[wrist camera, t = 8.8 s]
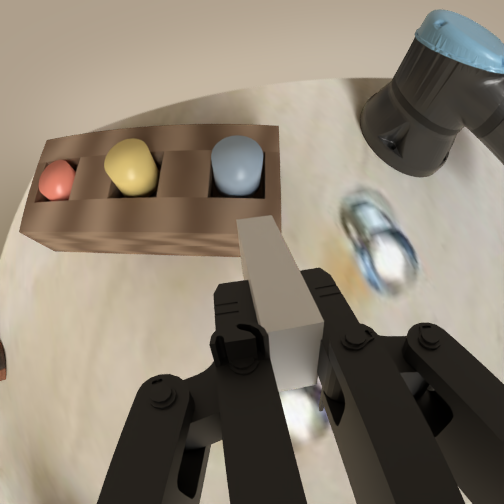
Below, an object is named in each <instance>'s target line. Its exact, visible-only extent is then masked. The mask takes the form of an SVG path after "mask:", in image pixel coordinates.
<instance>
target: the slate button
mask: <svg viewBox="0 0 504 504" xmlns="http://www.w3.org/2000/svg"><path fill="white" fill-rule="evenodd" d="M211 161H212V167H213V174H214V180H215V186H216V189H217V191H218V192H219V193H220V194H221V195H222V196H223V197H224V198H250V197H252V196H253V195H254V194H255V193H256V192H257V190H258V188H259V185H260V179H261V171H262V164H263V151H262V149H261V147H260V145H259V144H258V143H257V142H256V141H254V140H253V139H251V138H249V137H246V136H239V135H235V136H229V137H226V138H224V139H222V140H221V141H219V142H218V143H217V144H216V145H215V147H214V148H213V150H212V154H211Z"/></svg>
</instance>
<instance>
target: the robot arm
mask: <svg viewBox="0 0 504 504" xmlns="http://www.w3.org/2000/svg"><path fill="white" fill-rule="evenodd" d="M360 123H361V129H362V132H363V134H364V137H365V139H366V140H367V142H368V144H369V145H370V147H371V148H372V149H373V150H374V152H375V153H376V154H377V155H378V156H379V157H380V158H381V159H382V160H383V161H385V162H386V163H387V164H388V165H390V166H391V167H393V168H394V169H396V170H398V171H400V172H402V173H404V174H407V175H410V176H414V177H427V176H430V175H432V174H434V173H435V172H436V171H437V170H438V169H440V168H441V167H442V166H443V165H444V163H445V162H446V160H447V157H448V154H449V151H450V149H451V147H452V145H453V142H454V139H455V137H456V134H457V133H458V132H459V131H460V130H461V129H462V128H463V127H464V126H465V127H467V128H468V129H469V130H470V131H471V132H472V133H473V134H474V135H475V136H476V137H477V138H478V139H479V140H480V141H481V142H482V143H483V144H484V145H485V146H486V147H487V148H488V149H489V150H490V151H491V152H492V153H493V154H494V155H495V156H496V157H497V158H498V159H499V160H500V161H501V162H502V164H503V165H504V44H503V43H502V42H501V41H500V39H498V38H497V37H496V36H495V35H494V34H493V33H491V32H490V31H488V30H487V29H485V28H484V27H483V26H481V25H479V24H478V23H476V22H474V21H473V20H471V19H469V18H467V17H465V16H462V15H460V14H458V13H455V12H452V11H448V10H434V11H432V12H430V13H429V14H428V15H427V16H426V18H425V20H424V22H423V23H422V25H421V27H420V28H419V29H417V30H416V32H415V38H414V40H413V42H412V44H411V46H410V48H409V50H408V52H407V54H406V56H405V57H404V59H403V61H402V63H401V65H400V67H399V68H398V70H397V72H396V74H395V76H394V77H393V79H392V81H391V82H390V83H389V84H387V85H386V86H385V87H384V88H383V89H381V90H380V91H379V92H378V93H376V94H375V95H373V96H372V97H371V98H370V99H369V100H368V101H367V103H366V105H365V106H364V108H363V110H362V113H361V117H360ZM236 221H237V229H238V238H239V246H240V254H241V263H242V271H243V277H244V280H243V281H237V282H230V283H223V284H219V285H218V287H217V289H216V291H215V293H214V310H215V326H216V331H215V332H214V333H213V335H212V336H211V340H210V348H211V352H212V355H213V359H214V362H213V363H212V365H211V366H210V367H209V368H208V369H206V370H205V371H204V372H202V373H200V374H198V375H195V376H193V377H190V378H188V379H185V380H182V379H181V378H179V377H177V376H174V375H171V374H162V375H157V376H154V377H152V378H150V379H148V380H147V381H146V382H144V383H143V384H142V386H141V387H140V389H139V390H138V392H137V394H136V397H135V399H134V402H133V404H132V407H131V409H130V412H129V415H128V417H127V420H126V422H125V425H124V428H123V430H122V433H121V436H120V438H119V441H118V444H117V447H116V449H115V452H114V455H113V458H112V460H111V463H110V466H109V469H108V472H107V475H106V478H105V481H104V484H103V487H102V490H101V493H100V496H99V499H98V502H97V504H199V503H200V498H201V493H202V488H203V482H204V477H205V472H206V467H207V462H208V457H209V452H210V447H211V444H213V443H215V442H218V441H220V440H223V449H224V457H225V466H226V474H227V482H228V490H229V497H230V504H307V501H306V497H305V493H304V490H303V486H302V482H301V478H300V474H299V470H298V466H297V462H296V459H295V455H294V451H293V447H292V443H291V439H290V435H289V431H288V427H287V423H286V419H285V415H284V411H283V407H282V403H281V399H280V395H279V392H282V391H287V390H292V389H297V388H302V387H306V386H311V385H315V384H317V378H318V376H319V379H320V382H321V385H322V391H321V397H320V402H319V411H323V408H324V407H325V410H326V413H327V416H328V419H329V422H330V425H331V428H332V431H333V433H334V436H335V439H336V442H337V445H338V448H339V451H340V454H341V457H342V460H343V463H344V466H345V469H346V472H347V475H348V478H349V481H350V484H351V487H352V490H353V493H354V497H355V500H356V503H357V504H465V502H464V500H463V497H462V495H461V493H460V490H459V488H460V489H461V490H462V492H463V493H464V494H465V495H466V496H467V498H468V499H469V500H470V501H471V502H472V504H504V384H503V383H502V382H501V381H500V380H499V379H498V378H496V377H495V376H494V375H493V374H492V373H491V372H490V371H489V370H488V369H487V368H486V367H485V366H484V365H483V364H482V363H481V362H479V361H478V360H477V359H476V358H475V357H474V356H473V355H472V354H471V353H470V352H468V351H467V350H466V349H465V348H464V347H463V346H462V345H461V344H460V343H458V342H457V341H456V340H455V339H454V338H453V337H452V336H450V335H449V334H448V333H447V332H446V331H445V330H444V329H442V328H440V327H439V326H437V325H435V324H431V323H419V324H416V325H413V326H412V327H411V328H410V329H409V331H408V334H407V336H380V335H377V333H376V332H375V331H374V330H373V329H372V328H370V327H368V326H366V325H364V324H360V323H359V322H358V320H357V318H356V316H355V315H354V313H353V311H352V310H351V308H350V306H349V305H348V303H347V301H346V300H345V298H344V296H343V295H342V294H341V291H340V290H339V288H338V287H337V286H336V283H335V282H334V280H333V278H332V277H331V275H330V274H328V273H327V272H325V271H324V270H323V269H321V268H314V269H308V270H302V271H300V270H299V268H298V266H297V264H296V262H295V260H294V258H293V256H292V254H291V252H290V250H289V248H288V246H287V244H286V242H285V240H284V238H283V236H282V234H281V232H280V230H279V229H278V227H277V225H276V223H275V221H274V219H273V217H272V215H269V216H261V217H253V218H246V219H239V220H236ZM458 487H459V488H458Z"/></svg>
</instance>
